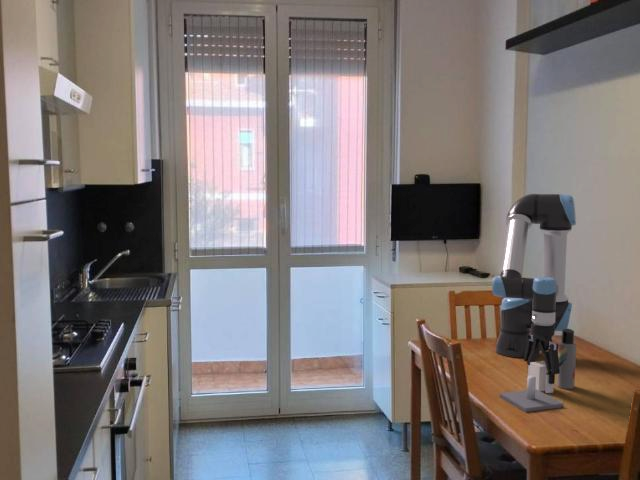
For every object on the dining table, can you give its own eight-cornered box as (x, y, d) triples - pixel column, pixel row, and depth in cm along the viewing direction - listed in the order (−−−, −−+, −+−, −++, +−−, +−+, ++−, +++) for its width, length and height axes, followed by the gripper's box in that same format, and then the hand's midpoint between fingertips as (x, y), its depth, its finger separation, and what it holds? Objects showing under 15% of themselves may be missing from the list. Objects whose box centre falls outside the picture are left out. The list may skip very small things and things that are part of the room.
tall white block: (529, 386, 224) (530, 362, 223) (542, 385, 226) (543, 361, 225) (538, 391, 219) (539, 366, 218) (551, 390, 221) (552, 365, 220)
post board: (499, 396, 214) (500, 372, 213) (535, 392, 219) (536, 368, 218) (525, 412, 201) (526, 386, 200) (563, 407, 205) (564, 381, 204)
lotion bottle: (574, 384, 226) (576, 328, 224) (574, 390, 221) (577, 332, 219) (556, 383, 228) (559, 327, 226) (556, 388, 223) (559, 331, 221)
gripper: (514, 316, 229) (512, 379, 232) (554, 331, 209) (551, 399, 211) (532, 315, 231) (530, 377, 234) (573, 329, 211) (570, 397, 213)
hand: (540, 387), depth 223 cm, fingers open, 9 cm apart
